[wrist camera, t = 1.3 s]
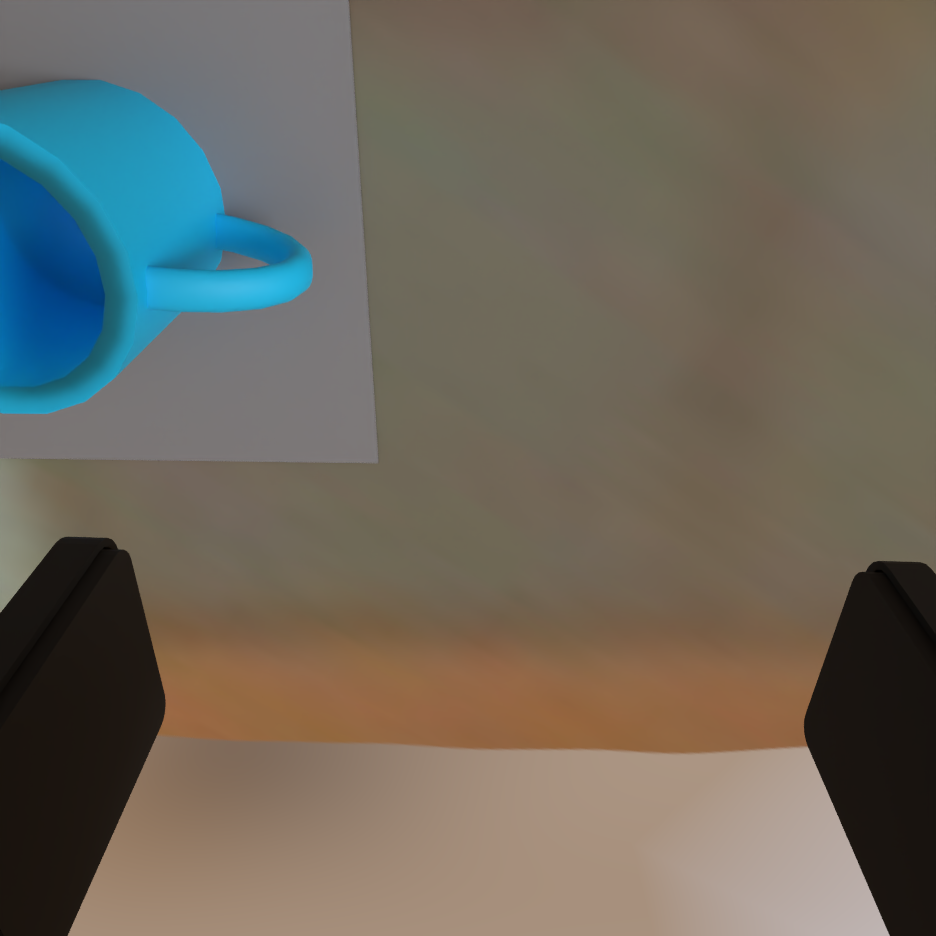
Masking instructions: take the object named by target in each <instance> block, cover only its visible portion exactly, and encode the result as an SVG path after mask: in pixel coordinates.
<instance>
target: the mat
mask: <svg viewBox="0 0 936 936" xmlns="http://www.w3.org/2000/svg"><path fill="white" fill-rule="evenodd" d="M58 80H102V81H105V82H108V83H111V84H114V85H117V86H120V87H123V88H126V89H129V90H132V91H135V92H138V93H140V94H142V95H143V96H145V97H146V98H148V99H149V100H150V101H152V102H153V103H155V104H156V105H158V106H159V107H160V108H162V109H163V110H165V111H166V112H168V113H169V114H170V115H172V116H173V117H175V118H176V119H177V120H178V122H179V123H180V124H181V125H182V126H183V128H184V129H185V130H186V131H187V132H188V134H189V135H190V136H191V137H192V138H193V139H194V141H195V142H196V143H197V144H198V145H199V147H200V148H201V149H202V150H203V152H204V154H205V156H206V158H207V160H208V162H209V164H210V167H211V169H212V171H213V173H214V175H215V177H216V179H217V182H218V184H219V186H220V188H221V193H222V200H223V206H224V212H225V215H228V216H233V217H238V218H241V219H245V220H248V221H252V222H255V223H259V224H262V225H266V226H269V227H271V228H274V229H276V230H278V231H280V232H283V233H285V234H287V235H290V236H292V237H293V238H294V239H295V240H297V241H298V242H299V243H300V244H301V245H303V246H304V247H305V248H306V249H307V250H308V251H309V253H310V254H311V257H312V265H313V278H312V282H311V284H310V287H309V288H308V289H307V290H306V291H304V292H303V293H302V294H300V295H299V296H297V297H296V298H294V299H293V300H291V301H289V302H286V303H282V304H278V305H275V306H271V307H267V308H263V309H257V310H245V311H234V312H223V313H211V312H181V313H180V314H179V315H178V316H177V317H176V318H175V319H174V320H173V321H172V322H171V323H170V324H169V325H168V326H167V327H166V328H165V329H164V330H163V331H162V332H161V333H160V334H159V335H158V336H157V337H156V338H155V339H154V340H153V341H152V342H151V343H150V344H149V345H148V346H147V347H146V348H145V349H144V350H143V351H142V352H141V353H140V354H139V355H138V356H137V357H136V358H135V359H133V360H132V361H131V362H130V363H129V364H128V365H127V366H126V367H125V368H124V369H123V370H122V371H121V372H120V373H119V374H118V375H117V376H116V377H115V378H114V379H113V380H112V381H111V382H109V383H108V384H107V385H106V386H104V387H103V388H102V389H101V390H99V391H98V392H97V393H96V394H94V395H93V396H92V397H91V398H89V399H88V400H87V401H86V402H83V403H80V404H77V405H74V406H71V407H67V408H64V409H61V410H58V411H55V412H52V413H48V414H3V413H0V458H25V459H101V460H177V461H253V462H329V463H378V462H379V461H378V446H377V430H376V415H375V399H374V384H373V368H372V353H371V337H370V321H369V306H368V290H367V275H366V259H365V244H364V228H363V213H362V197H361V182H360V166H359V151H358V135H357V120H356V104H355V89H354V73H353V57H352V42H351V26H350V11H349V0H0V90H5V89H11V88H17V87H23V86H29V85H35V84H41V83H46V82H52V81H58ZM266 265H269V264H267V263H265V262H263V261H260V260H257V259H253V258H250V257H247V256H243V255H240V254H237V253H233V252H229V251H224V250H223V252H222V258H221V261H220V263H219V265H218V267H217V268H216V270H227V269H244V268H256V267H261V266H266Z"/></svg>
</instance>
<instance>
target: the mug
mask: <svg viewBox="0 0 936 936" xmlns="http://www.w3.org/2000/svg"><path fill="white" fill-rule="evenodd" d="M223 250H224V251H229V252H233V253H237V254H240V255H243V256H247V257H250V258H253V259H257V260H260V261H263V262H265V263H267V264H269V265H266V266H261V267H256V268H244V269H227V270H216V268H217V267H218V265H219V263H220V261H221V258H222V252H223ZM312 278H313V265H312V257H311V254H310V253H309V251H308V250H307V249H306V248H305V247H304V246H303V245H301V244H300V243H299V242H298V241H297V240H295V239H294V238H293V237H292V236H290V235H287V234H285V233H283V232H280V231H278V230H276V229H274V228H271V227H269V226H266V225H262V224H259V223H255V222H252V221H248V220H245V219H241V218H238V217H233V216H228V215H225V212H224V206H223V200H222V193H221V188H220V186H219V184H218V182H217V179H216V177H215V175H214V173H213V171H212V169H211V167H210V164H209V162H208V160H207V158H206V156H205V154H204V152H203V150H202V149H201V148H200V147H199V145H198V144H197V143H196V142H195V141H194V139H193V138H192V137H191V136H190V135H189V134H188V132H187V131H186V130H185V129H184V128H183V126H182V125H181V124H180V123H179V122H178V120H177V119H176V118H175V117H173V116H172V115H170V114H169V113H168V112H166V111H165V110H163V109H162V108H160V107H159V106H158V105H156V104H155V103H153V102H152V101H150V100H149V99H148V98H146V97H145V96H143V95H142V94H140V93H138V92H135V91H132V90H129V89H126V88H123V87H120V86H117V85H114V84H111V83H108V82H105V81H102V80H58V81H52V82H46V83H41V84H35V85H29V86H23V87H17V88H11V89H5V90H0V413H3V414H48V413H52V412H55V411H58V410H61V409H64V408H67V407H71V406H74V405H77V404H80V403H83V402H86V401H87V400H88V399H89V398H91V397H92V396H93V395H94V394H96V393H97V392H98V391H99V390H101V389H102V388H103V387H104V386H106V385H107V384H108V383H109V382H111V381H112V380H113V379H114V378H115V377H116V376H117V375H118V374H119V373H120V372H121V371H122V370H123V369H124V368H125V367H126V366H127V365H128V364H129V363H130V362H131V361H132V360H133V359H135V358H136V357H137V356H138V355H139V354H140V353H141V352H142V351H143V350H144V349H145V348H146V347H147V346H148V345H149V344H150V343H151V342H152V341H153V340H154V339H155V338H156V337H157V336H158V335H159V334H160V333H161V332H162V331H163V330H164V329H165V328H166V327H167V326H168V325H169V324H170V323H171V322H172V321H173V320H174V319H175V318H176V317H177V316H178V315H179V314H180V313H181V312H211V313H223V312H234V311H245V310H257V309H263V308H267V307H271V306H275V305H278V304H282V303H286V302H289V301H291V300H293V299H294V298H296V297H297V296H299V295H300V294H302V293H303V292H304V291H306V290H307V289H308V288H309V287H310V284H311V282H312Z"/></svg>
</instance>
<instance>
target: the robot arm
mask: <svg viewBox="0 0 936 936" xmlns="http://www.w3.org/2000/svg"><path fill="white" fill-rule="evenodd" d="M164 714H165V694H164V690H163V686H162V682H161V678H160V674H159V670H158V666H157V662H156V658H155V654H154V650H153V646H152V641H151V637H150V633H149V629H148V625H147V621H146V617H145V613H144V609H143V605H142V601H141V597H140V593H139V589H138V585H137V581H136V577H135V573H134V569H133V565H132V561H131V558H130V555H129V553H128V552H127V551H125V550H118V548H117V546H116V544H115V542H114V541H113V540H112V539H109V538H91V537H64V538H61V539H60V540H59V541H57V542H56V543H55V545H54V546H53V547H52V548H51V550H50V551H49V552H48V553H47V555H46V556H45V557H44V559H43V560H42V561H41V562H40V564H39V565H38V566H37V567H36V569H35V570H34V571H33V572H32V574H31V575H30V576H29V577H28V579H27V580H26V581H25V583H24V584H23V585H22V586H21V588H20V589H19V590H18V591H17V593H16V594H15V595H14V596H13V598H12V599H11V600H10V602H9V603H8V604H7V605H6V607H5V608H4V609H3V610H2V612H1V613H0V936H68V933H69V931H70V929H71V927H72V924H73V922H74V920H75V918H76V915H77V913H78V911H79V909H80V906H81V904H82V902H83V900H84V897H85V895H86V893H87V891H88V888H89V886H90V884H91V882H92V879H93V877H94V875H95V873H96V870H97V868H98V866H99V864H100V862H101V859H102V857H103V855H104V853H105V850H106V848H107V846H108V844H109V841H110V839H111V837H112V835H113V833H114V830H115V828H116V826H117V824H118V821H119V819H120V817H121V815H122V812H123V810H124V808H125V806H126V803H127V801H128V799H129V797H130V794H131V792H132V790H133V788H134V785H135V783H136V781H137V778H138V777H139V774H140V772H141V770H142V768H143V765H144V763H145V761H146V758H147V756H148V754H149V752H150V750H151V747H152V745H153V743H154V741H155V738H156V736H157V734H158V732H159V729H160V727H161V725H162V722H163V718H164ZM804 733H805V738H806V742H807V745H808V748H809V750H810V752H811V755H812V757H813V759H814V761H815V764H816V766H817V768H818V771H819V773H820V775H821V778H822V780H823V782H824V785H825V787H826V789H827V791H828V794H829V796H830V798H831V801H832V803H833V805H834V808H835V810H836V812H837V815H838V817H839V819H840V822H841V824H842V826H843V829H844V831H845V833H846V836H847V838H848V840H849V842H850V845H851V847H852V849H853V852H854V854H855V856H856V859H857V860H858V863H859V865H860V868H861V870H862V873H863V875H864V877H865V879H866V882H867V884H868V886H869V889H870V891H871V893H872V896H873V898H874V900H875V903H876V905H877V907H878V909H879V912H880V914H881V916H882V919H883V921H884V923H885V926H886V928H887V930H888V932H889V935H890V936H936V574H935V573H934V572H933V570H932V569H931V568H930V567H928V566H927V565H926V564H924V563H921V562H894V561H877V562H873V563H872V564H871V565H870V566H869V567H868V569H867V571H866V572H859V573H858V574H857V575H855V577H854V579H853V581H852V584H851V587H850V589H849V592H848V595H847V598H846V601H845V604H844V607H843V609H842V612H841V615H840V618H839V621H838V624H837V626H836V629H835V632H834V635H833V638H832V641H831V643H830V646H829V649H828V652H827V655H826V658H825V661H824V663H823V666H822V669H821V672H820V675H819V678H818V680H817V683H816V686H815V689H814V692H813V695H812V698H811V700H810V703H809V706H808V709H807V712H806V715H805V719H804Z"/></svg>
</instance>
